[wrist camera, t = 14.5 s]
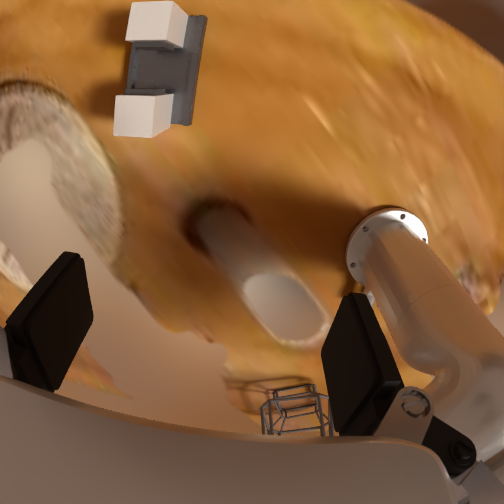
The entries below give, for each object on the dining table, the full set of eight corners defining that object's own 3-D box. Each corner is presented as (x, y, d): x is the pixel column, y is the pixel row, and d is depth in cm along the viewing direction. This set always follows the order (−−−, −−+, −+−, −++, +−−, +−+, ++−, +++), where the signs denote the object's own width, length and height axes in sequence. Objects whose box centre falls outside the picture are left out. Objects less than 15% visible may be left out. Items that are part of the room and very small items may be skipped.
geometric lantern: (265, 419, 64) (264, 564, 33) (250, 378, 56) (243, 559, 26) (335, 409, 62) (355, 555, 31) (334, 366, 54) (363, 549, 24)
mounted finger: (182, 52, 29) (165, 45, 23) (147, 52, 28) (124, 46, 22) (188, 15, 26) (173, 0, 20) (153, 15, 26) (132, 2, 20)
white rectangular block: (170, 127, 33) (151, 137, 27) (137, 125, 33) (113, 135, 27) (174, 88, 31) (155, 89, 25) (141, 87, 31) (116, 89, 24)
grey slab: (191, 124, 34) (189, 125, 32) (127, 119, 33) (122, 121, 32) (207, 18, 27) (205, 15, 26) (140, 17, 27) (135, 15, 25)
